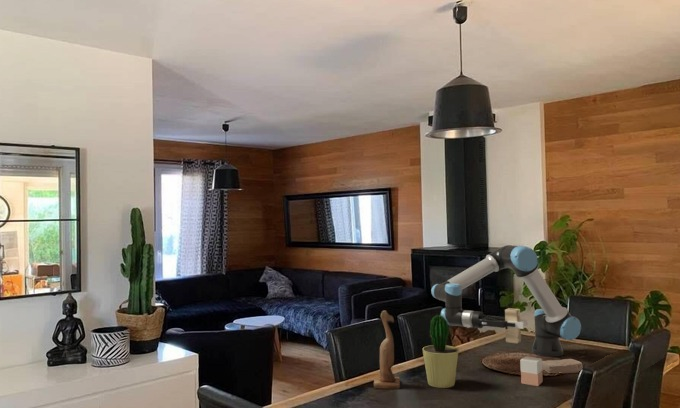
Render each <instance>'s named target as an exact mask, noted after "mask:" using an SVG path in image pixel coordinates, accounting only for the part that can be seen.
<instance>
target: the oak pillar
mask: <svg viewBox="0 0 680 408" xmlns="http://www.w3.org/2000/svg"><path fill="white" fill-rule="evenodd" d="M504 317H505V321H507V323H508V321H515V322H520V319H521V309H520V308H511V307H507V308H506V309H504ZM507 328H508V329H505V343H509V344H510V343H512V344H518V343H521V341H522V333H521V332H522V331H521V330H522V329H519V328H509V327H508V326H507Z"/></svg>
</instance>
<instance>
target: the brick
mask: <svg viewBox="0 0 680 408" xmlns="http://www.w3.org/2000/svg"><path fill="white" fill-rule="evenodd" d="M583 367H584V366H583V363H582V361H579V360H576V359H573V358H565V359H564V358H563V359H555V360H553V359H548V360H542V369H543V370H545V371H547V372H548V373H559V372H562V374H574V373H575V374H577V373H580V372H579V371H580V370H581V369H582V368H583ZM543 370H542V371H543ZM545 371H544V372H545ZM548 373H547V374H548Z"/></svg>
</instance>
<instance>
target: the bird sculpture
mask: <svg viewBox="0 0 680 408" xmlns="http://www.w3.org/2000/svg"><path fill="white" fill-rule="evenodd" d="M380 319H381V321H382V324H383V327H384V331H385V339H383V341H382V342H381V344H380V346H379V376H374V377H373V390H375V389H376V390H377V389H379V390H384V389H386V390H400V385H401V384H400V377H399V376H395V375H394V373H393V371H392V367H394V364H395V341H394V336H393V332H392V330H391V328H390V325H389V323H393V324H394V323H395V319H394V316H393V315H390V314H389V313H388V311H387V310H382V311H381V313H380Z"/></svg>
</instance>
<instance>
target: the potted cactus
mask: <svg viewBox="0 0 680 408" xmlns="http://www.w3.org/2000/svg"><path fill="white" fill-rule="evenodd" d="M444 317H445V316H443V315H442V316H441V314H436V315H434V316H433V317H431V318H432V319H430V321H429V323H430V325H429V326H430V329H429V338H431V345H427V346H424V347H423V348H422V355H423V360H424V367H425V372H426V379H427V384H428V385H429V386H431V387H434V388H439V389H448V388H452V387H454V386H455V383H456V374H457V367H458V358H459V351H460V349H459V348H457V347H455V346H451V345H447V343H448V339H449V336H450V334H451V332H450V326H449V325H448V322H447V321H446V320H445V318H444Z"/></svg>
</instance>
